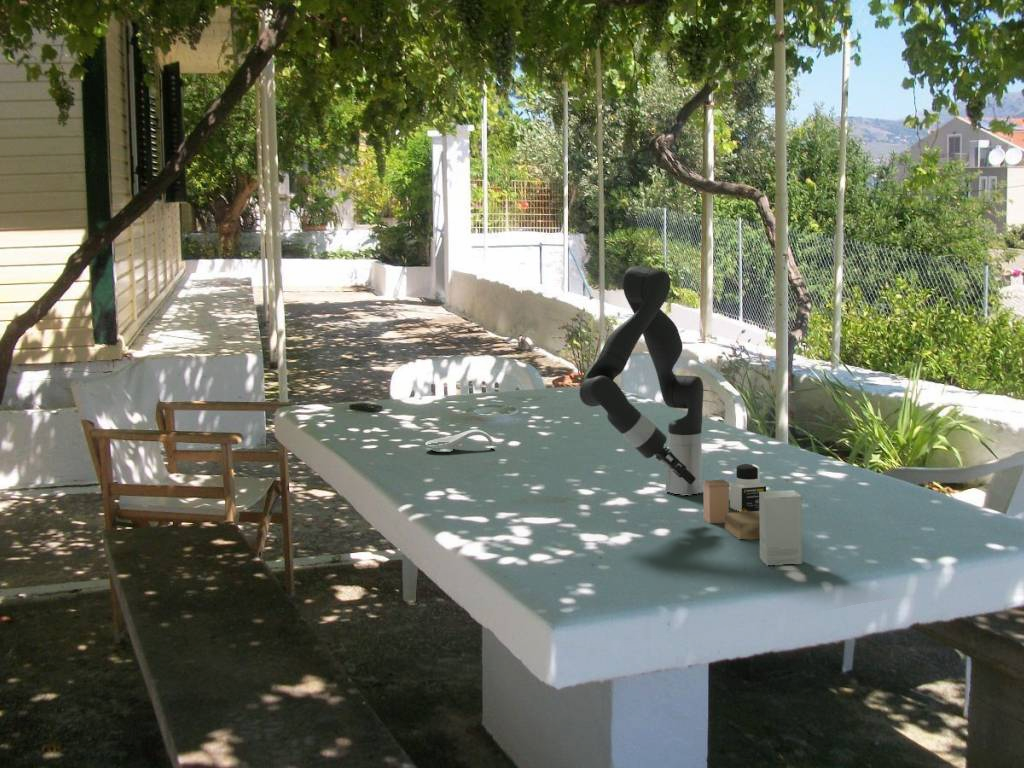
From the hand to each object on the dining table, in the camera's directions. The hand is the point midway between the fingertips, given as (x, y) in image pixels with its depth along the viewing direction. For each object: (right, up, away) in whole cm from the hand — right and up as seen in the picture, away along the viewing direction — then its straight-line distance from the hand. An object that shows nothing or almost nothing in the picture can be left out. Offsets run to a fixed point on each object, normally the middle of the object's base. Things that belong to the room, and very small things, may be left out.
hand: (688, 478), depth 301 cm
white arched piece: (-62, 0, +110) cm, 126 cm away
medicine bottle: (+18, -10, +14) cm, 24 cm away
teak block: (+14, -13, -11) cm, 22 cm away
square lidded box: (+8, -11, +2) cm, 13 cm away
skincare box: (+15, -16, -37) cm, 43 cm away
